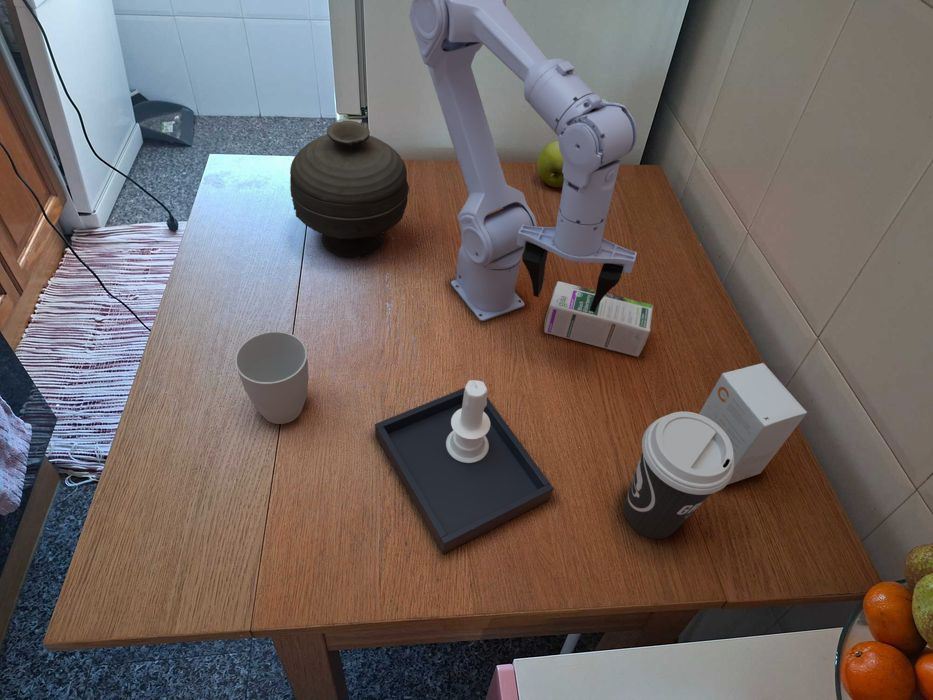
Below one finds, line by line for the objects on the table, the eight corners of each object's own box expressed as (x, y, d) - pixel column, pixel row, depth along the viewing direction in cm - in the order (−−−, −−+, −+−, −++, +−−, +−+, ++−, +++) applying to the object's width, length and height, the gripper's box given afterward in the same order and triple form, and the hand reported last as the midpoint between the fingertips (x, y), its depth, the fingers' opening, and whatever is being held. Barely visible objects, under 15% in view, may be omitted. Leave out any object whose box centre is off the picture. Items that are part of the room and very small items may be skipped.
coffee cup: (644, 565, 72) (689, 498, 61) (595, 496, 78) (629, 423, 67) (707, 531, 76) (761, 462, 65) (656, 467, 81) (698, 393, 70)
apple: (531, 192, 120) (538, 154, 114) (535, 166, 126) (542, 129, 120) (573, 199, 119) (582, 161, 113) (575, 173, 125) (584, 135, 120)
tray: (375, 435, 81) (374, 423, 79) (474, 395, 87) (476, 382, 85) (442, 554, 71) (444, 543, 69) (550, 499, 77) (554, 488, 75)
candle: (437, 441, 80) (442, 380, 71) (470, 420, 83) (479, 359, 74) (464, 471, 78) (473, 411, 69) (497, 449, 80) (510, 389, 71)
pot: (433, 227, 109) (429, 121, 93) (367, 291, 99) (350, 184, 84) (350, 190, 115) (333, 84, 99) (280, 248, 105) (250, 140, 90)
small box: (760, 474, 82) (809, 413, 72) (720, 488, 80) (764, 427, 70) (722, 424, 87) (763, 360, 77) (683, 436, 85) (720, 372, 75)
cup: (325, 394, 84) (319, 343, 77) (294, 442, 79) (284, 392, 72) (270, 376, 86) (258, 323, 78) (236, 422, 80) (220, 370, 73)
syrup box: (651, 331, 89) (549, 303, 91) (638, 359, 94) (541, 332, 95) (654, 304, 93) (556, 278, 95) (642, 332, 98) (548, 307, 99)
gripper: (650, 208, 77) (625, 295, 86) (533, 181, 80) (521, 268, 90) (640, 240, 72) (615, 328, 82) (516, 210, 75) (506, 299, 85)
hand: (565, 299), depth 85 cm, fingers open, 7 cm apart
